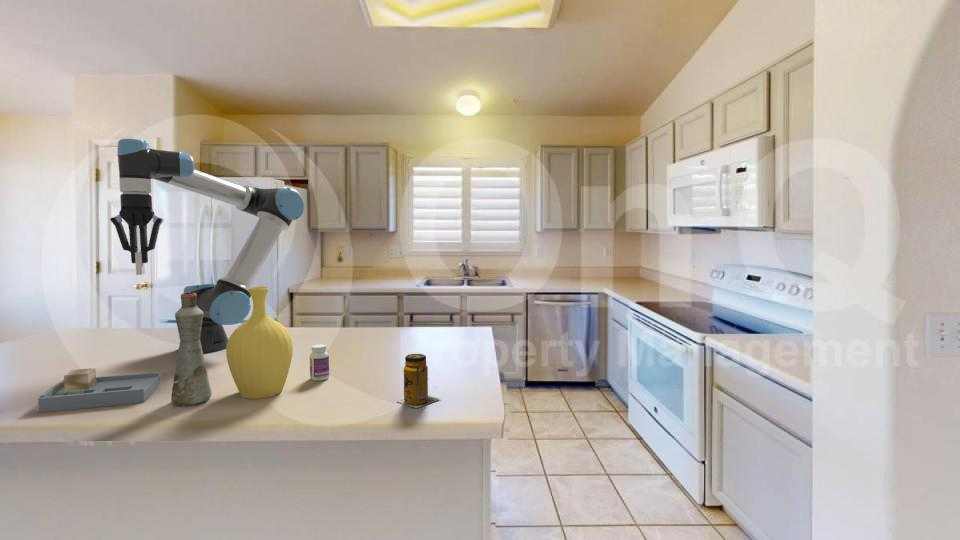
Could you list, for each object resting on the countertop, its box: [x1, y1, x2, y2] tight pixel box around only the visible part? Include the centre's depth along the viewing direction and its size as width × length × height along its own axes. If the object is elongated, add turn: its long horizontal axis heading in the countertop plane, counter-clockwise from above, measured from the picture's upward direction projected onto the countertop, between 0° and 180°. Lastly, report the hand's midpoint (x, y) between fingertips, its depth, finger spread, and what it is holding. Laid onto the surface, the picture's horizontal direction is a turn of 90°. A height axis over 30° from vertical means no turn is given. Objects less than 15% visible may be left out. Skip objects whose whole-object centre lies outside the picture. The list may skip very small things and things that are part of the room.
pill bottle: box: [309, 344, 330, 382], centre depth 143 cm, size 5×5×10 cm
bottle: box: [170, 291, 212, 407], centre depth 122 cm, size 9×9×28 cm
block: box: [63, 367, 97, 391], centre depth 126 cm, size 5×5×4 cm
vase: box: [225, 286, 294, 400], centre depth 130 cm, size 16×16×28 cm
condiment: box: [397, 353, 440, 409], centre depth 125 cm, size 7×8×12 cm
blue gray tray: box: [37, 371, 161, 414], centre depth 126 cm, size 21×15×4 cm
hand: (140, 274), depth 146 cm, fingers closed
